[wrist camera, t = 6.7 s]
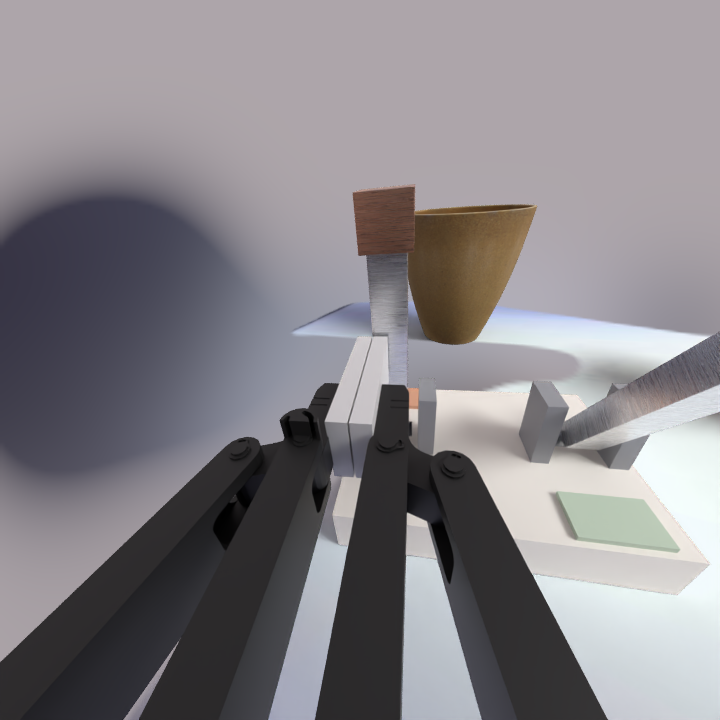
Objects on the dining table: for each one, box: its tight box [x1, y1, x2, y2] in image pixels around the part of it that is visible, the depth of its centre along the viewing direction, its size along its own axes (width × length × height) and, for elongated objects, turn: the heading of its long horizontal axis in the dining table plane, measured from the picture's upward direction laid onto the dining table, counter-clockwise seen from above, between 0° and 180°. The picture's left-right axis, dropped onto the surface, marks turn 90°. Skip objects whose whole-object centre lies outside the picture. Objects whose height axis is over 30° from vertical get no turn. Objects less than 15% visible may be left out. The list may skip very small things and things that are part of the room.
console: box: [332, 378, 710, 595], centre depth 18 cm, size 17×12×7 cm
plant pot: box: [408, 204, 537, 345], centre depth 36 cm, size 15×15×16 cm
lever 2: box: [555, 331, 720, 450], centre depth 11 cm, size 2×2×15 cm
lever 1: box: [353, 184, 415, 436], centre depth 16 cm, size 2×2×15 cm
